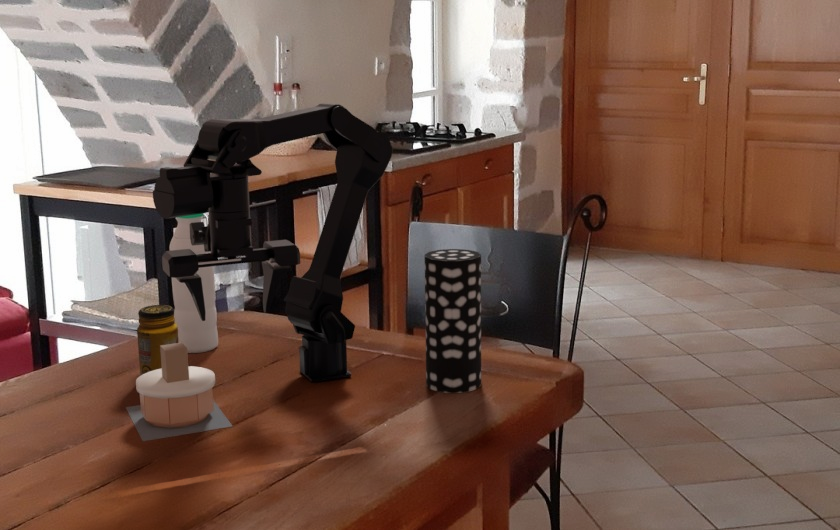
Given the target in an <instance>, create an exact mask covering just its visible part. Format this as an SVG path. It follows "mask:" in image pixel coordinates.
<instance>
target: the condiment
mask: <svg viewBox="0 0 840 530" xmlns="http://www.w3.org/2000/svg"><path fill="white" fill-rule="evenodd" d="M174 310H175V308H174V307H172V306H171V305H167V304H154V305H153V304H152V305H147V306H144V307H142V308H140V309H139V310H138V327H137V328H136V334H137V348H138V360H139V361H138V362H139V374H140V375H139V377H140V376H141V375H143V374H145V373H147V372H150V371H153V370H157V369H161V368H162V366H161V352H160V345H168V344H175V343H179V340H178V326H177V324H176V323H175V317H174Z"/></svg>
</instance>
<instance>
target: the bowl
mask: <svg viewBox="0 0 840 530" xmlns="http://www.w3.org/2000/svg"><path fill="white" fill-rule="evenodd" d="M139 401H140V404H139V405H141V413H142V415H143V417H144V418H145V420H146V421H147V422H148V423H149V424H151V425H153V426H157V427H165V428H175V427H184V426H189V425H193V424H196V423H199V422H201V421H203V420H205V419H206V418H207V417H208V415H209V413H210V412H212V411H213V410H214V406H213V401H214V391H213V387H212V388H211V389H209V390H207V391H205V392H202V393H199V394H196V395H192V396H187V397H179V398H153V397H148V396H144V395H142V394H140V393H139Z"/></svg>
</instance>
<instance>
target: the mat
mask: <svg viewBox="0 0 840 530" xmlns="http://www.w3.org/2000/svg"><path fill="white" fill-rule="evenodd" d="M213 406H214V410H213V411H212V412H210V413H209V415H208V417H207V418H206V419H205V420H203V421H201V422H199V423H196V424H193V425H189V426H184V427H175V428H165V427H157V426H153V425H151V424H149V423H148V422H147V421H146V420H145V418H144V417H143V415H142V413H141V405H140V404H138V405H132V406H126V407H125V410H126V411H127V413H128V416H129V417H130V419H131V421H132V423H133V425H134V427H135V429H136V431H137V433H138V435H139V437H140V439H141V441H142V442H147V441H148V442H149V441H153V440H154V441H155V440H158V439H159V440H160V439H165V438H172V437H178V436H185V435H189V434H196V433H197V434H198V433H201V432H208V431H214V430H220V429H226V428H233V427H234V426H233V424H232V423H231V422H230V420H229V419H228V418H227V416H226V415H225V414H224V412H223V411H222V410H221V408H220V407H219V406H218V404H217V403H216V402H215V400H213Z"/></svg>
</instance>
